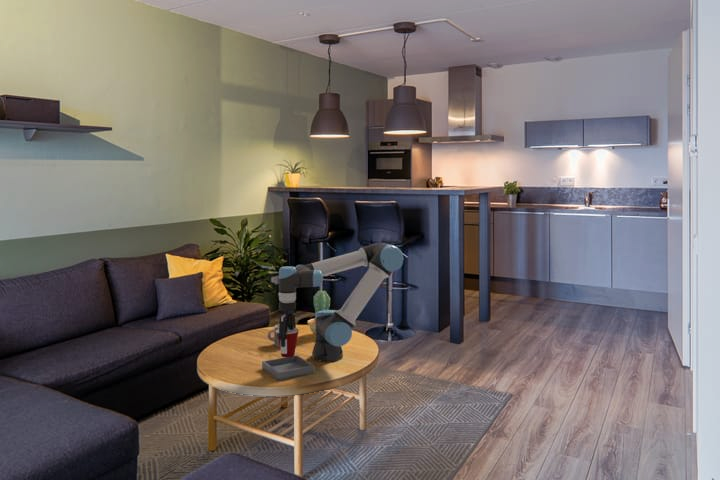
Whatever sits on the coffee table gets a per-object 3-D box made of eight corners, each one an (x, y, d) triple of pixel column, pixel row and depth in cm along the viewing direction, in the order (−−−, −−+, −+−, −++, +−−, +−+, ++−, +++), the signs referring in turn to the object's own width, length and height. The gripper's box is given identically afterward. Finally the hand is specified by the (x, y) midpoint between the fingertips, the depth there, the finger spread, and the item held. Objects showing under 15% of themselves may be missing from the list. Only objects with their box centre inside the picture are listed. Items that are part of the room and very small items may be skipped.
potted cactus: (338, 332, 313) (338, 289, 310) (330, 340, 298) (330, 294, 295) (312, 330, 316) (312, 287, 314) (303, 338, 301) (303, 293, 299)
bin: (296, 362, 263) (296, 354, 262) (314, 373, 248) (314, 365, 248) (262, 368, 253) (262, 361, 253) (278, 380, 239) (278, 372, 238)
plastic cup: (290, 350, 257) (290, 324, 256) (304, 355, 250) (304, 329, 248) (270, 355, 250) (270, 329, 249) (284, 360, 242) (284, 334, 241)
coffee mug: (296, 342, 294) (296, 324, 293) (291, 348, 284) (290, 329, 283) (271, 341, 296) (271, 322, 295) (265, 346, 286) (265, 327, 285)
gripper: (287, 295, 258) (287, 342, 261) (270, 306, 237) (270, 356, 240) (303, 296, 257) (303, 343, 259) (287, 307, 236) (287, 358, 238)
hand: (287, 350), depth 249 cm, fingers closed on plastic cup, 9 cm apart
